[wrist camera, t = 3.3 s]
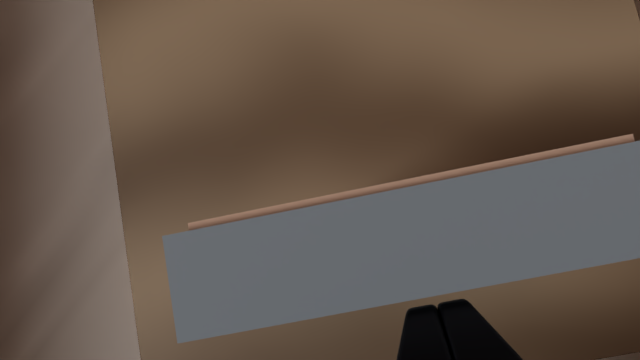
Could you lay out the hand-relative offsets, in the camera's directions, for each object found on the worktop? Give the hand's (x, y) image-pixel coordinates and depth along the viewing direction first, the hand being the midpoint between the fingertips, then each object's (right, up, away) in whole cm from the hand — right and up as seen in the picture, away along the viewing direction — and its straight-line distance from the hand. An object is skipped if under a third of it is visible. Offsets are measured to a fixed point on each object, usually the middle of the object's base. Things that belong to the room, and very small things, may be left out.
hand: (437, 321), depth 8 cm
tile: (+1, 0, +7) cm, 8 cm away
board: (0, +3, +9) cm, 9 cm away
